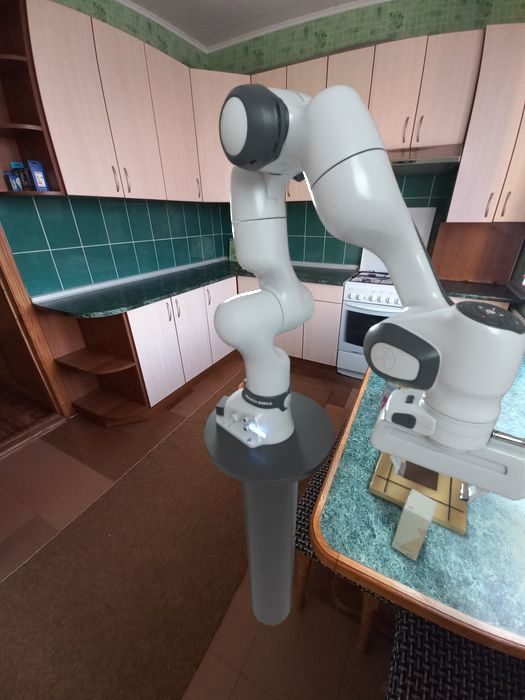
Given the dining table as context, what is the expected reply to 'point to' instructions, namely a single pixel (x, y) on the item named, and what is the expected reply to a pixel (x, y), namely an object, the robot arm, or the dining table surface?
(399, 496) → the board
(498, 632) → the dining table surface
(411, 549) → the box
